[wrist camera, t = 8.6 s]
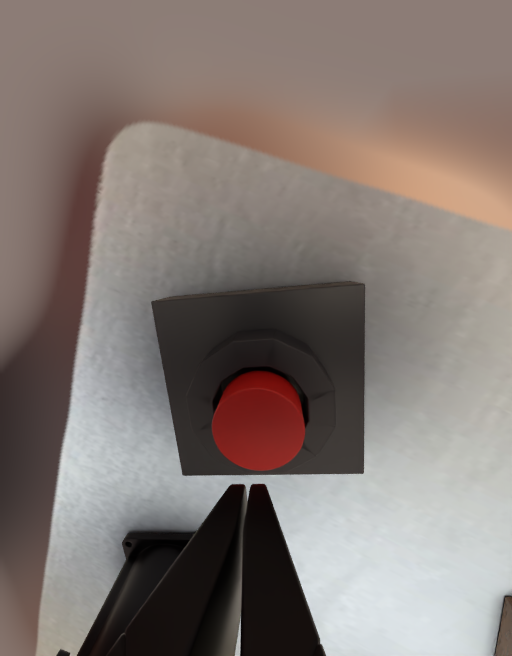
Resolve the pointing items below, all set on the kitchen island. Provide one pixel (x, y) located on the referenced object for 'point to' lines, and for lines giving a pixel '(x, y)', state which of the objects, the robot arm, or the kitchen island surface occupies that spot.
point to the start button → (259, 421)
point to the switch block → (268, 368)
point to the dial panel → (505, 630)
